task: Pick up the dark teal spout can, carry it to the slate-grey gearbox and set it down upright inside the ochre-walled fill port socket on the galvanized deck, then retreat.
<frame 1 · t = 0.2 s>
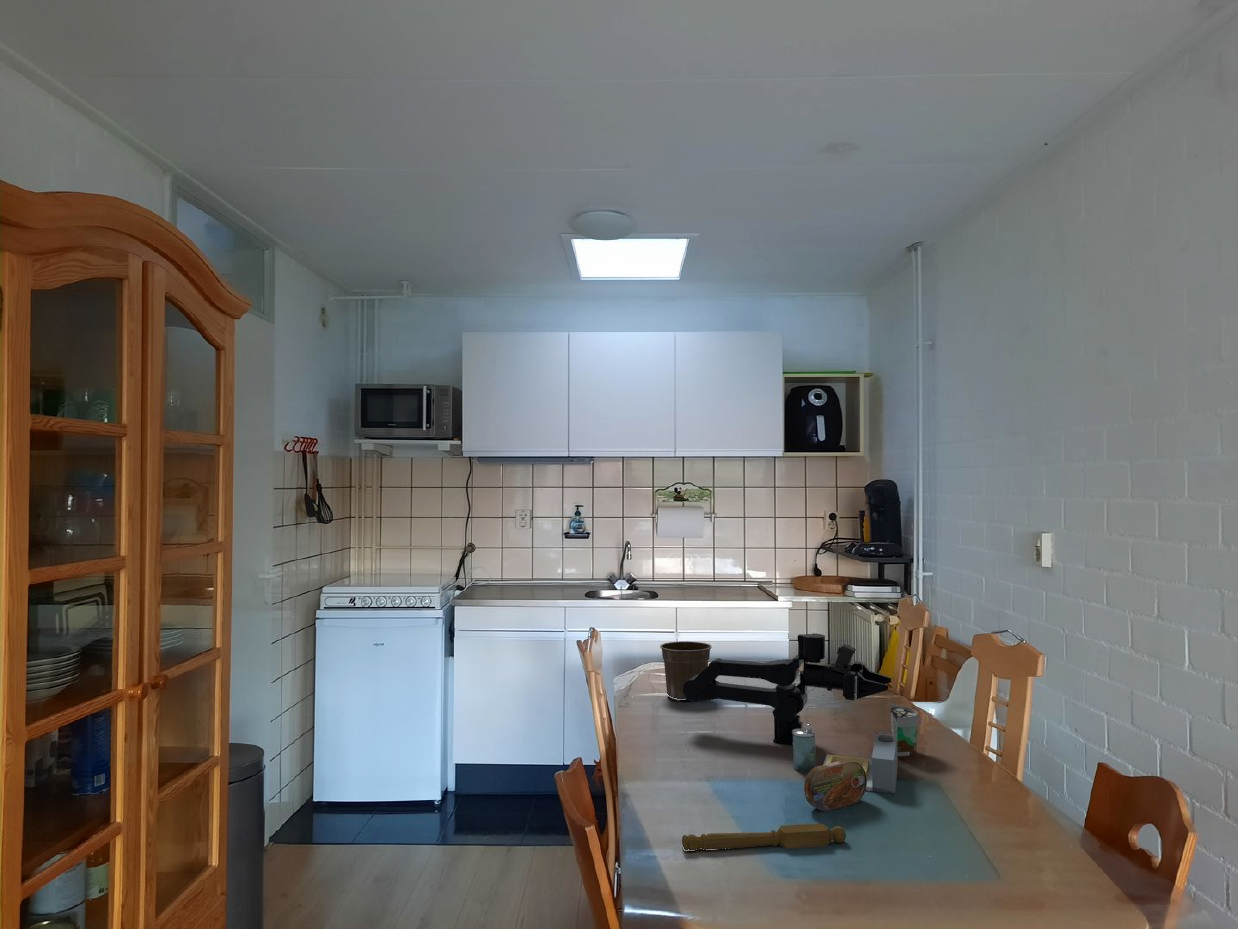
hand: (889, 684, 189), 17 cm above the table, tool horizontal, fingers open, 9 cm apart
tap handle: (765, 848, 139), on the table
tin: (835, 806, 157), on the table
plant pot: (686, 697, 242), on the table
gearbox: (858, 774, 173), on the table
food container: (907, 754, 187), on the table
spout can: (804, 768, 178), on the table
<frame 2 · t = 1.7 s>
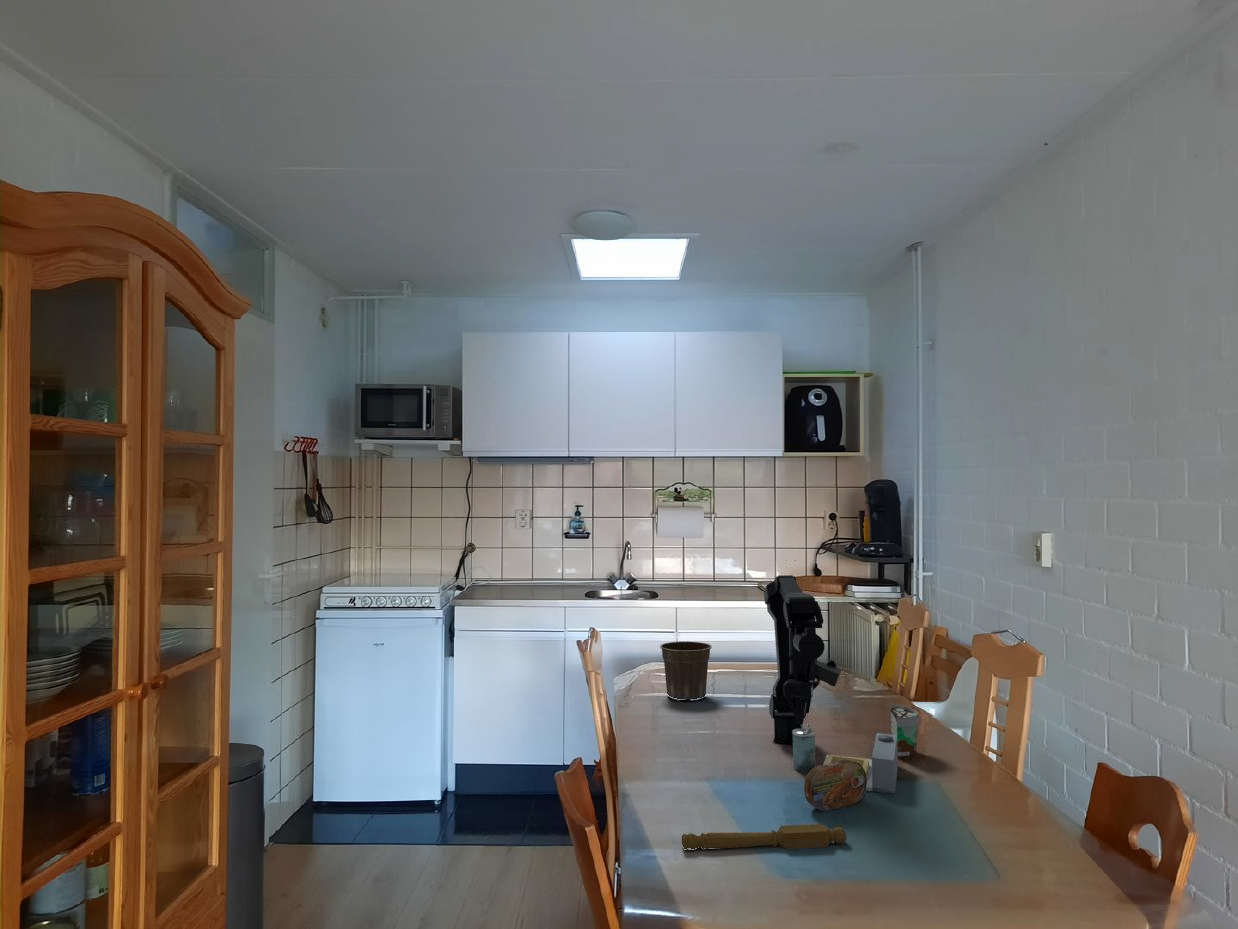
hand: (803, 718, 178), 11 cm above the table, tool pointing down, fingers open, 9 cm apart
nothing on the table moved.
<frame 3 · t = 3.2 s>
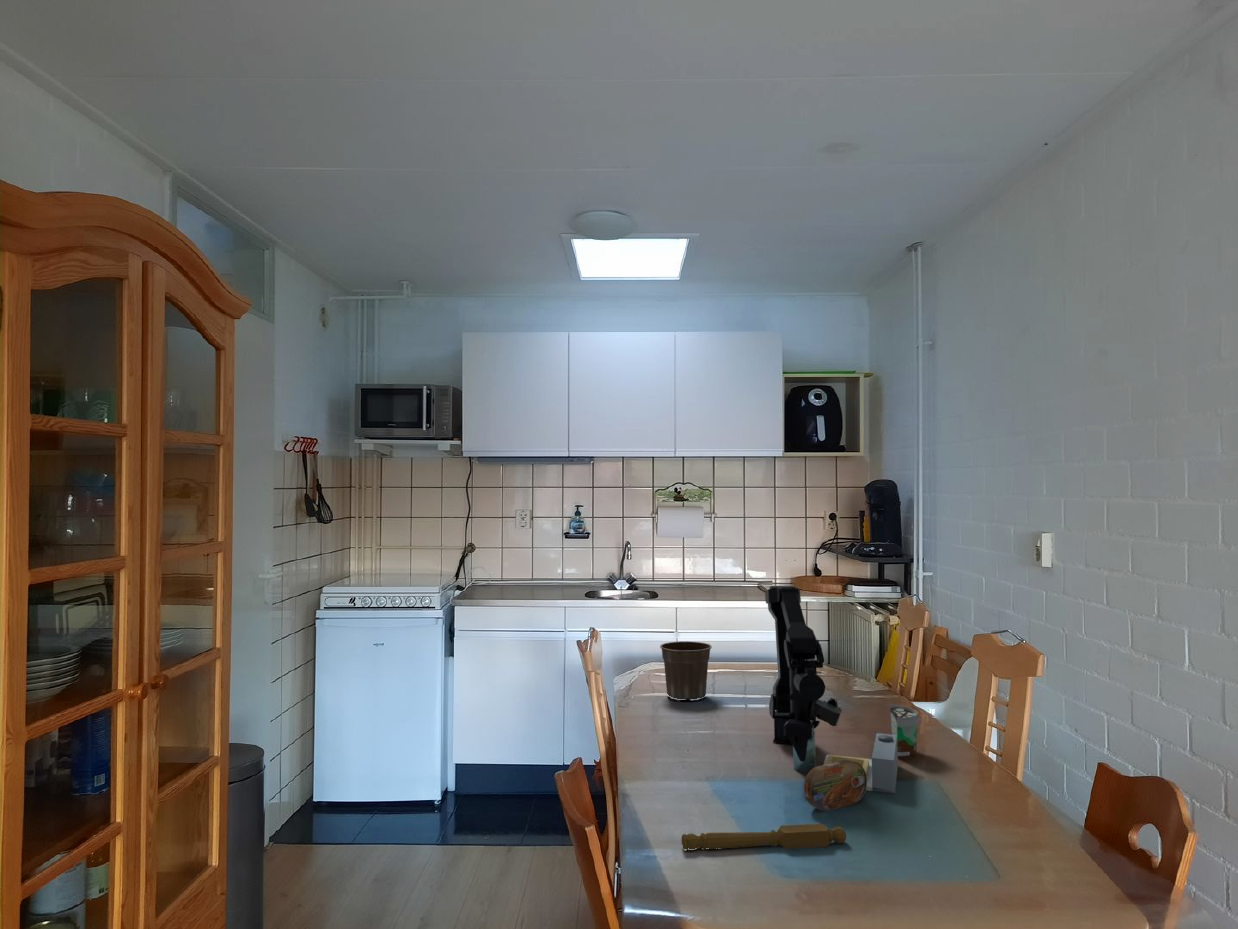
hand: (804, 757, 178), 3 cm above the table, tool pointing down, fingers closed on spout can, 5 cm apart
spout can: (804, 768, 178), on the table, touching gripper
everything else where it was.
when the fingers open (4 cm above the table, at t = 6.8 s): spout can stays where it is, resting on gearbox.
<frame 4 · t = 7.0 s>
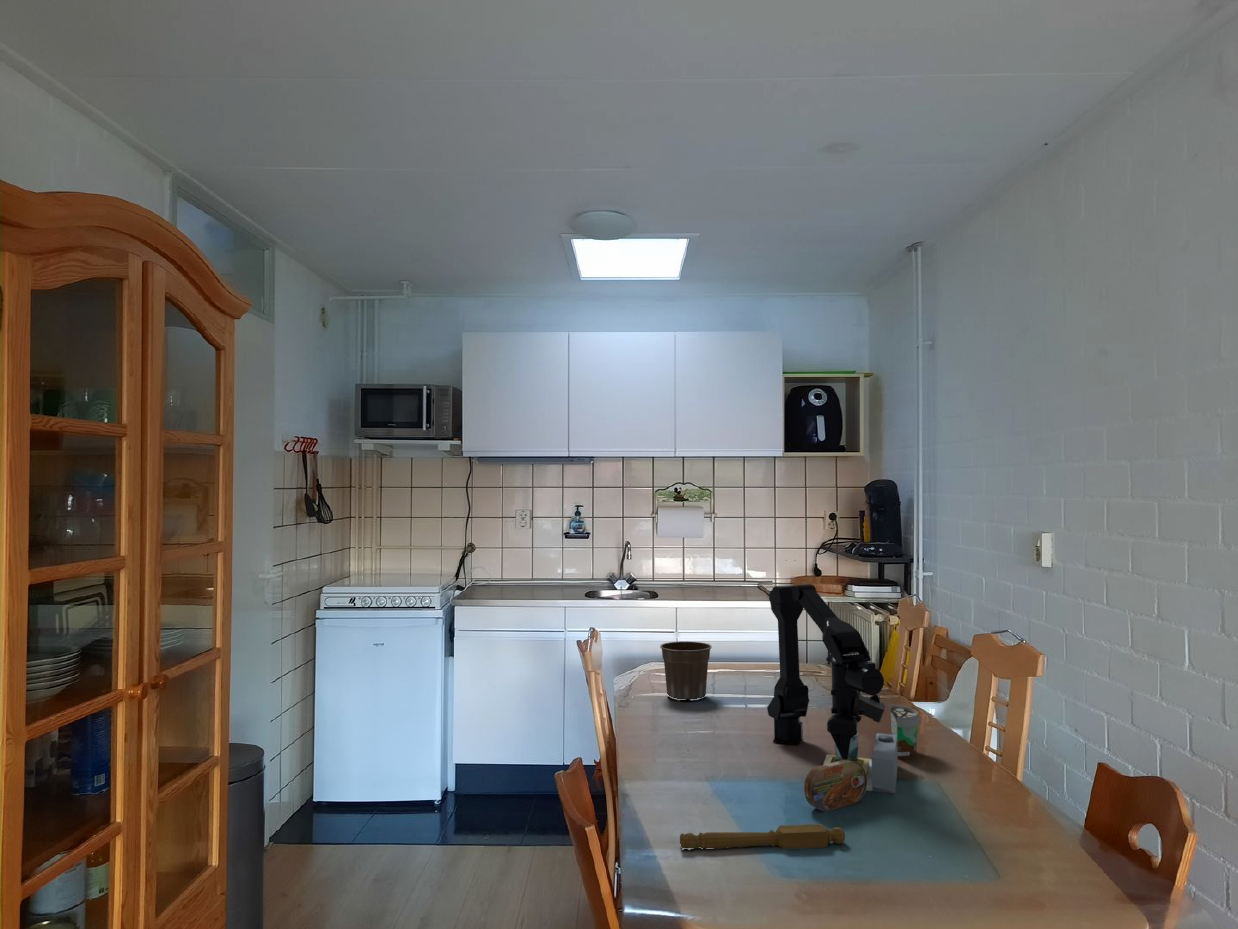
hand: (846, 754, 174), 4 cm above the table, tool pointing down, fingers open, 7 cm apart
spout can: (846, 769, 174), point 1 cm above the table, touching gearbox
everything else where it was.
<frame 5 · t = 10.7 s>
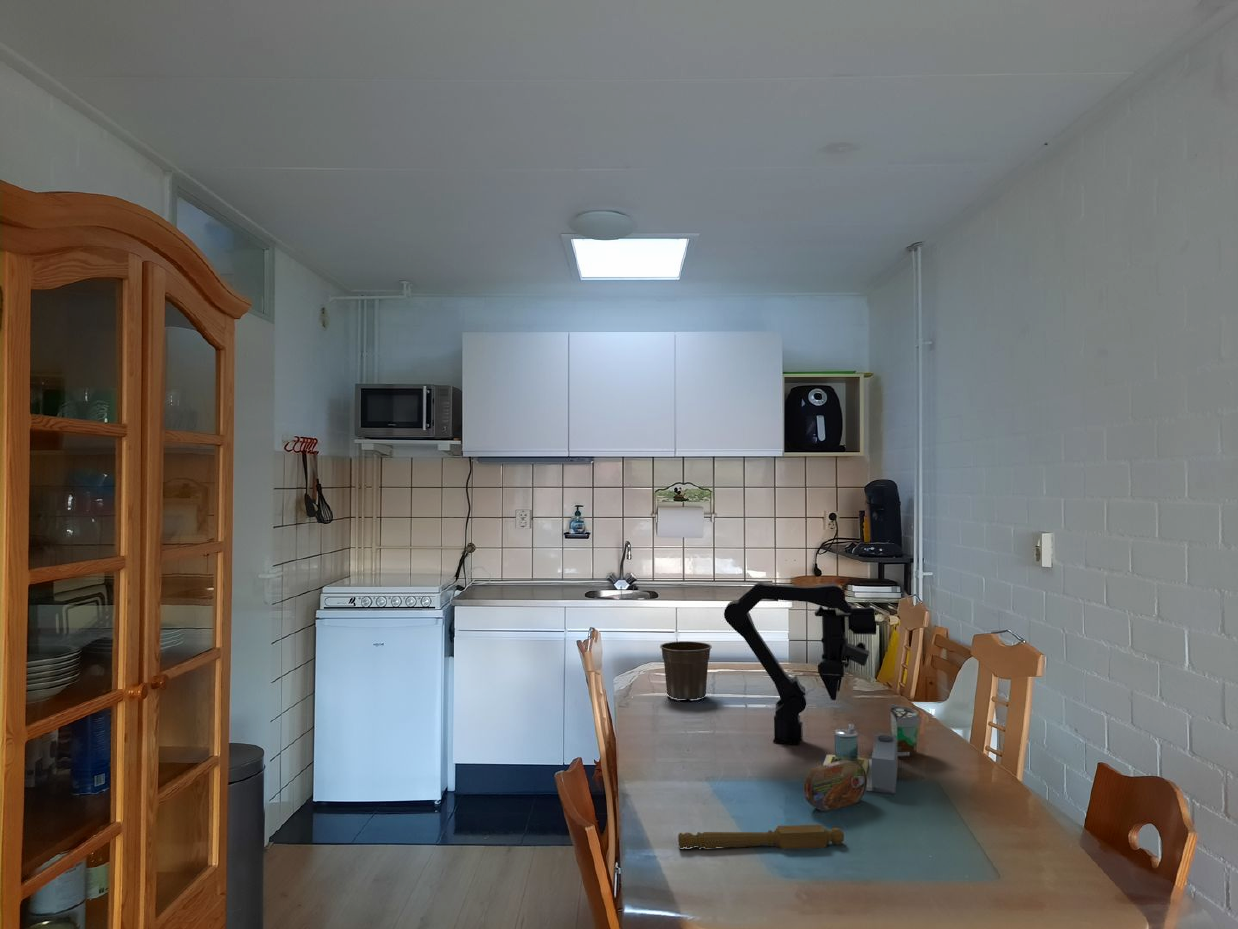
hand: (835, 695, 196), 12 cm above the table, tool pointing down, fingers open, 9 cm apart
nothing on the table moved.
at the end: spout can 0.0 cm from the target spot, point 0.8 cm above the table; spout can tilted 0°; the gripper is holding nothing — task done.
